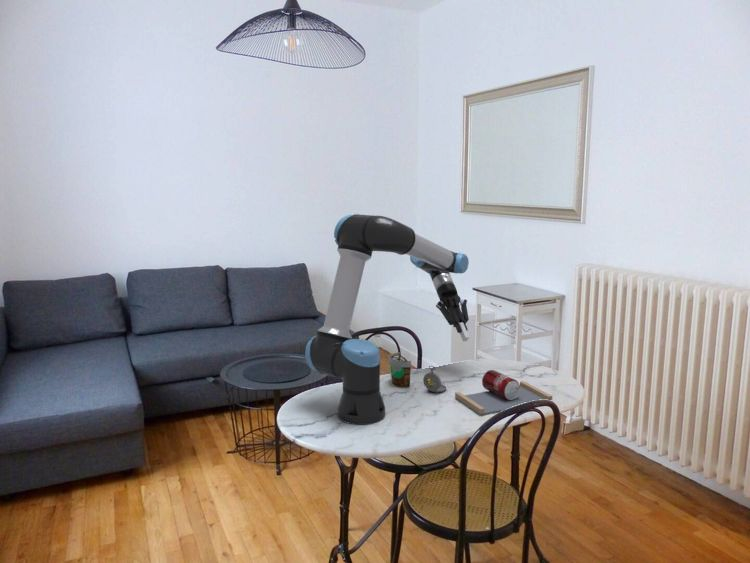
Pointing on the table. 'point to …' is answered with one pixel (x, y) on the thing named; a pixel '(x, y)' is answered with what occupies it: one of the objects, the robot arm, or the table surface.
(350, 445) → the table surface
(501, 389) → the soda can
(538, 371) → the table surface
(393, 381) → the food container
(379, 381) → the robot arm
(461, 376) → the table surface
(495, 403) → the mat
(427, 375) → the pocket watch
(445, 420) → the table surface
